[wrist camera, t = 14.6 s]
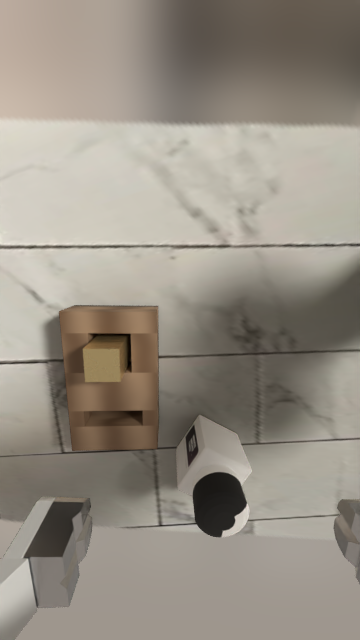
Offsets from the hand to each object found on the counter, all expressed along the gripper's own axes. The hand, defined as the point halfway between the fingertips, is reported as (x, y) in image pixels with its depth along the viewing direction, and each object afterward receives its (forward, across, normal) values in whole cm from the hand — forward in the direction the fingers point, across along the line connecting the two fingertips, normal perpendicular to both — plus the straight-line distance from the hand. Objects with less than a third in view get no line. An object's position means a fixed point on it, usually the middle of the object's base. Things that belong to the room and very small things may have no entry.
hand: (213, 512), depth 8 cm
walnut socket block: (+28, +10, +8) cm, 30 cm away
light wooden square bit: (+27, +10, +4) cm, 29 cm away
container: (+28, -4, +21) cm, 35 cm away
